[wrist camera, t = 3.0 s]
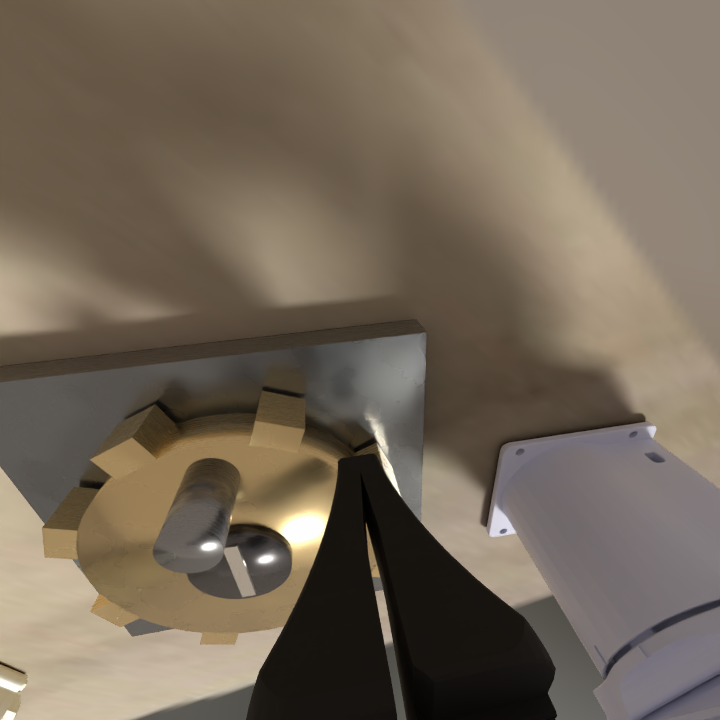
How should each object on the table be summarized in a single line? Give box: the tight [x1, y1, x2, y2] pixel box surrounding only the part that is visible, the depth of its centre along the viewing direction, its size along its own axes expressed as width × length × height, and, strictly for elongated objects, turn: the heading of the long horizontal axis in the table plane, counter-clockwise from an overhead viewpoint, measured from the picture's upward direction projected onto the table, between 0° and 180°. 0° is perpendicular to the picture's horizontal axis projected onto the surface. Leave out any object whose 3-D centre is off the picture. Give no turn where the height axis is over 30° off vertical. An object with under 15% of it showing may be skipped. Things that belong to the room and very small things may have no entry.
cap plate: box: [0, 320, 427, 636], centre depth 18 cm, size 18×18×2 cm
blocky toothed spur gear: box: [42, 391, 401, 644], centre depth 15 cm, size 15×15×5 cm
